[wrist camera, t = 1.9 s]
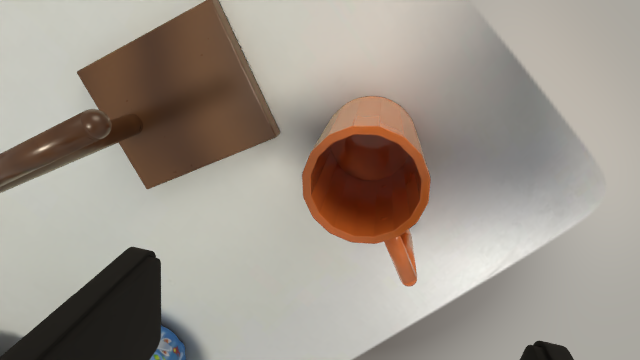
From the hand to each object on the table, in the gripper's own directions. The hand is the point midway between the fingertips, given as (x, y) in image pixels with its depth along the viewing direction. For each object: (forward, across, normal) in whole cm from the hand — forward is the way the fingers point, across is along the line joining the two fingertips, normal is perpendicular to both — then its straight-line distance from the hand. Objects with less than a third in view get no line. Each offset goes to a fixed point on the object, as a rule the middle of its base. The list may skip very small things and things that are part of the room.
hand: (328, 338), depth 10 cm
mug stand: (+20, +14, 0) cm, 24 cm away
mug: (+20, -2, +2) cm, 20 cm away
